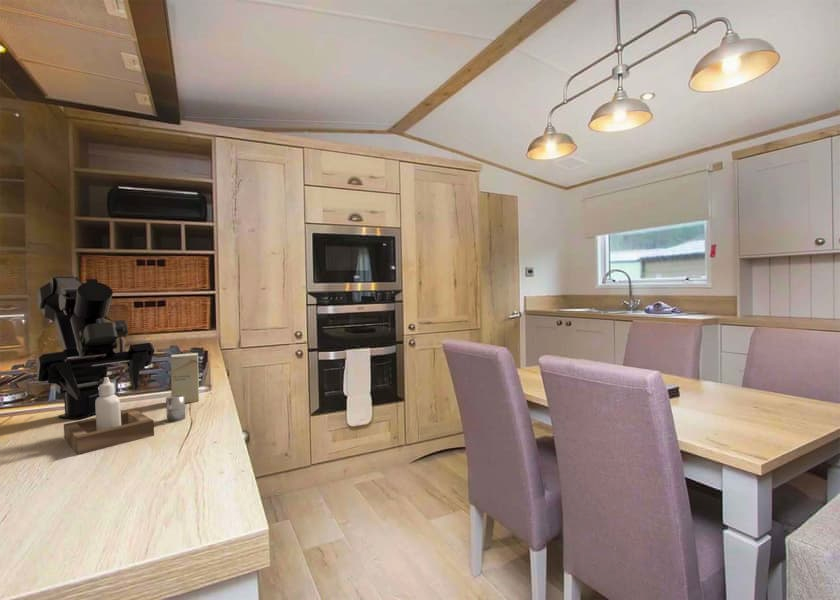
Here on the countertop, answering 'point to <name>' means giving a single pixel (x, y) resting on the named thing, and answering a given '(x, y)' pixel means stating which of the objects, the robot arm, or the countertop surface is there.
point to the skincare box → (185, 376)
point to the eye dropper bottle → (107, 407)
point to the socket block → (107, 432)
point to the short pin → (175, 408)
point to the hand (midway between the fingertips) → (108, 393)
